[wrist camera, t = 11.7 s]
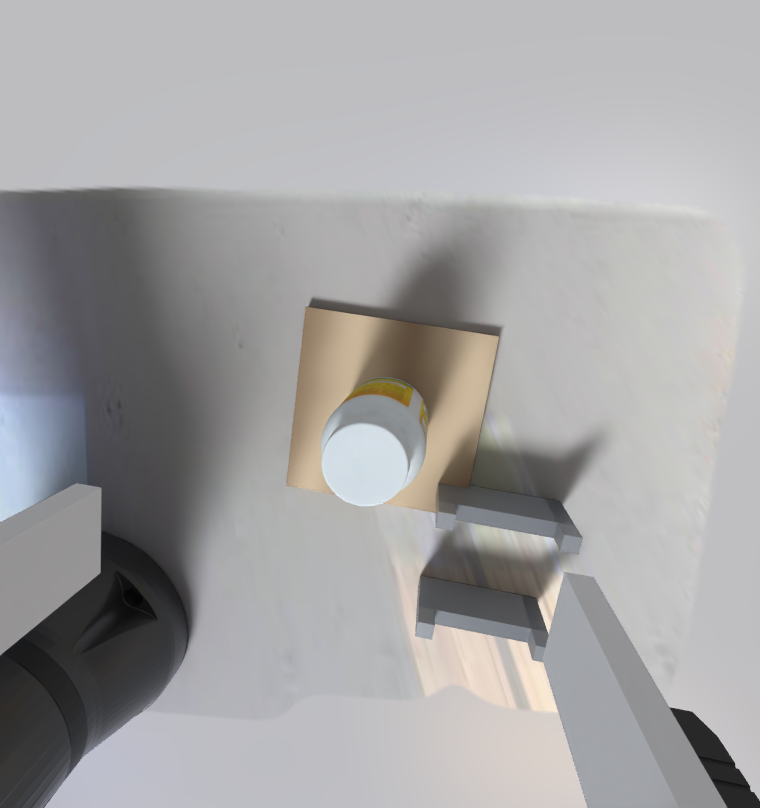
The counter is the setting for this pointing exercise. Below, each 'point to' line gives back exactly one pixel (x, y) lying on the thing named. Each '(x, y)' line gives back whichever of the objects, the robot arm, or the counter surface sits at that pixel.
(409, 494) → the square wooden board
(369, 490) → the supplement bottle
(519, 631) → the holder
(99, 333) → the counter surface
